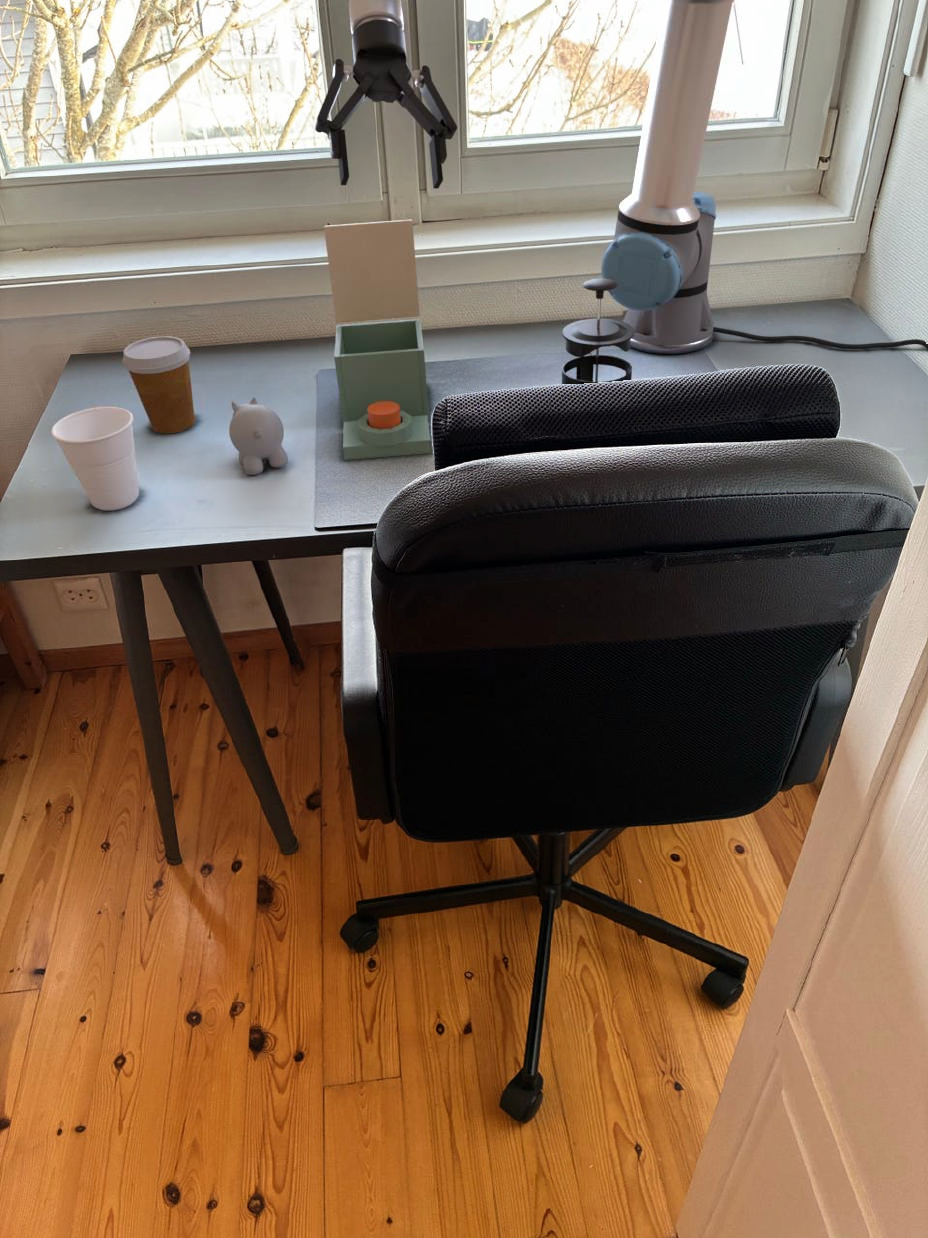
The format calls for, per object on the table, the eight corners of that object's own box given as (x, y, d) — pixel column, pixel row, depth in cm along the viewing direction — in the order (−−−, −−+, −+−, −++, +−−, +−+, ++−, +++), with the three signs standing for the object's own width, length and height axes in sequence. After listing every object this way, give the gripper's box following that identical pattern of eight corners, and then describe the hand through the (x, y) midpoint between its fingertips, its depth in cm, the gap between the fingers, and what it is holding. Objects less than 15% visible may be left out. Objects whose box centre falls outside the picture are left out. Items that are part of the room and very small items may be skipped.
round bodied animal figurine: (274, 434, 137) (264, 379, 132) (295, 469, 128) (284, 411, 123) (225, 445, 135) (213, 389, 130) (243, 481, 126) (230, 423, 121)
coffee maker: (429, 420, 138) (424, 349, 132) (343, 427, 138) (334, 356, 131) (425, 386, 148) (420, 318, 142) (345, 392, 148) (336, 324, 141)
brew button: (400, 415, 132) (398, 399, 131) (401, 429, 128) (399, 413, 127) (369, 417, 132) (367, 402, 130) (369, 431, 128) (367, 415, 127)
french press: (639, 465, 124) (652, 291, 110) (570, 474, 123) (574, 299, 109) (612, 427, 134) (621, 261, 120) (548, 435, 133) (549, 269, 119)
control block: (428, 427, 136) (426, 401, 134) (431, 455, 130) (429, 428, 127) (345, 434, 136) (342, 408, 134) (344, 462, 129) (340, 435, 127)
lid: (412, 220, 134) (412, 219, 135) (323, 226, 133) (324, 225, 134) (419, 316, 141) (419, 314, 142) (335, 322, 141) (336, 321, 141)
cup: (61, 507, 123) (33, 430, 116) (121, 475, 129) (98, 400, 123) (110, 527, 118) (85, 448, 112) (170, 492, 125) (149, 416, 118)
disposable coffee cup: (131, 424, 142) (109, 347, 135) (188, 405, 147) (170, 329, 139) (158, 445, 136) (137, 365, 129) (217, 424, 141) (199, 346, 134)
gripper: (454, 54, 141) (468, 196, 141) (286, 41, 134) (301, 191, 134) (468, 23, 133) (483, 173, 134) (292, 8, 126) (307, 166, 127)
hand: (392, 182), depth 134 cm, fingers open, 13 cm apart
